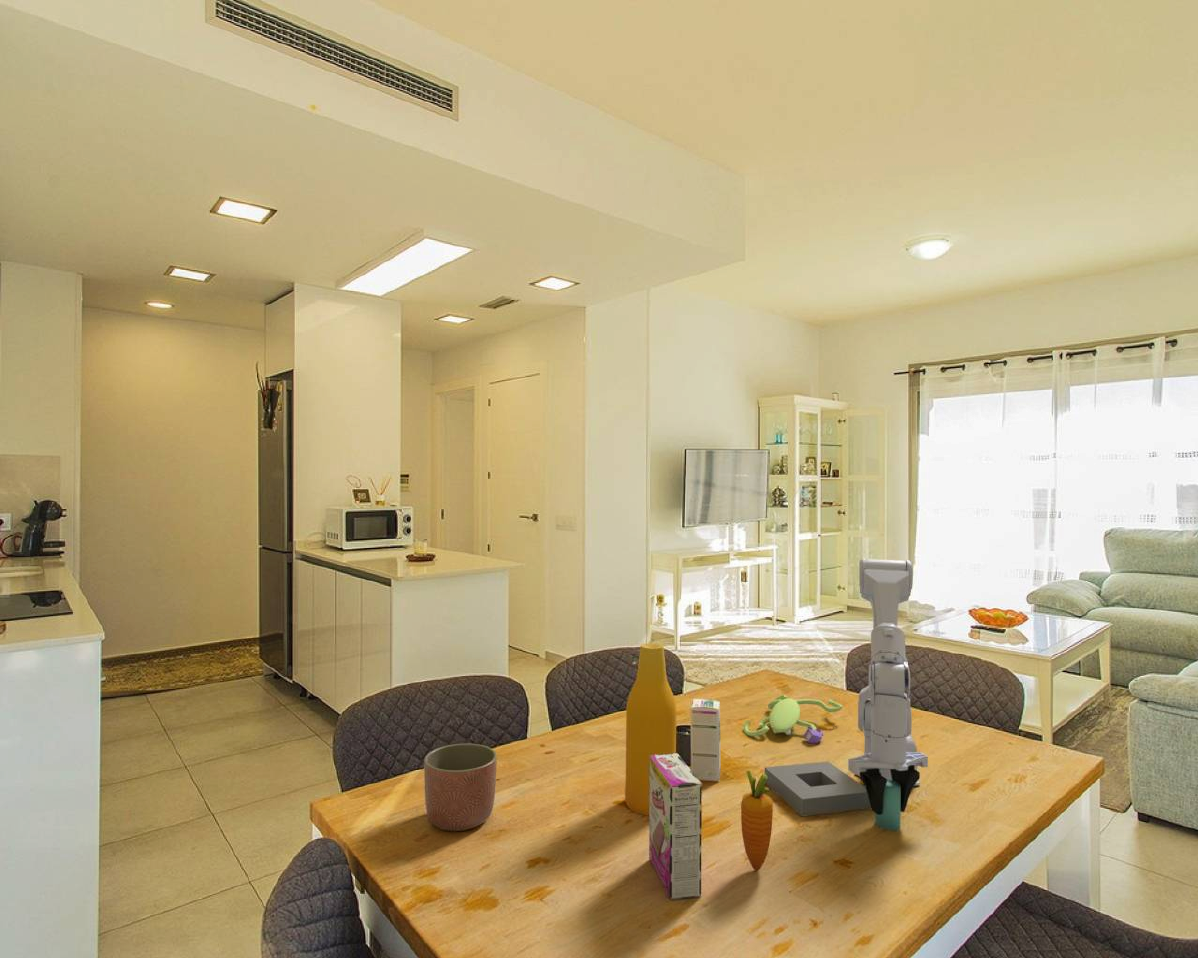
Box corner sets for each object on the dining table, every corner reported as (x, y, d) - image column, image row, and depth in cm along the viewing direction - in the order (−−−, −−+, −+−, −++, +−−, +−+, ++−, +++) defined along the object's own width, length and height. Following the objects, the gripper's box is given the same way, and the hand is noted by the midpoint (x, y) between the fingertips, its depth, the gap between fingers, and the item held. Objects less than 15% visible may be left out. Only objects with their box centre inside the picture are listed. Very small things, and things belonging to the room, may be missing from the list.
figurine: (847, 720, 174) (847, 697, 174) (816, 753, 152) (816, 728, 152) (775, 706, 184) (776, 685, 184) (737, 735, 162) (737, 712, 162)
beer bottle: (618, 811, 123) (620, 648, 123) (633, 790, 132) (635, 638, 132) (668, 820, 120) (670, 653, 120) (680, 798, 128) (682, 642, 129)
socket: (827, 776, 139) (827, 761, 139) (871, 807, 125) (871, 791, 125) (764, 782, 136) (764, 767, 136) (802, 816, 122) (802, 799, 122)
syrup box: (719, 782, 136) (720, 708, 136) (689, 779, 137) (690, 706, 137) (720, 770, 141) (721, 699, 141) (691, 767, 142) (692, 697, 142)
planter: (433, 844, 111) (434, 776, 111) (415, 811, 122) (416, 749, 122) (506, 827, 117) (506, 763, 117) (483, 797, 128) (484, 738, 128)
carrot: (735, 862, 107) (736, 765, 107) (766, 861, 107) (767, 764, 107) (745, 880, 102) (746, 778, 102) (777, 879, 102) (778, 778, 102)
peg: (890, 817, 122) (890, 778, 122) (905, 828, 118) (905, 788, 118) (870, 820, 121) (870, 780, 121) (885, 831, 117) (885, 790, 117)
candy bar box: (646, 859, 107) (648, 753, 107) (677, 856, 108) (678, 751, 108) (668, 902, 96) (670, 784, 96) (702, 898, 97) (704, 781, 98)
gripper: (866, 743, 114) (865, 826, 114) (940, 736, 117) (940, 816, 117) (841, 728, 121) (840, 806, 121) (912, 722, 124) (911, 798, 124)
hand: (887, 810), depth 119 cm, fingers closed on peg, 4 cm apart
